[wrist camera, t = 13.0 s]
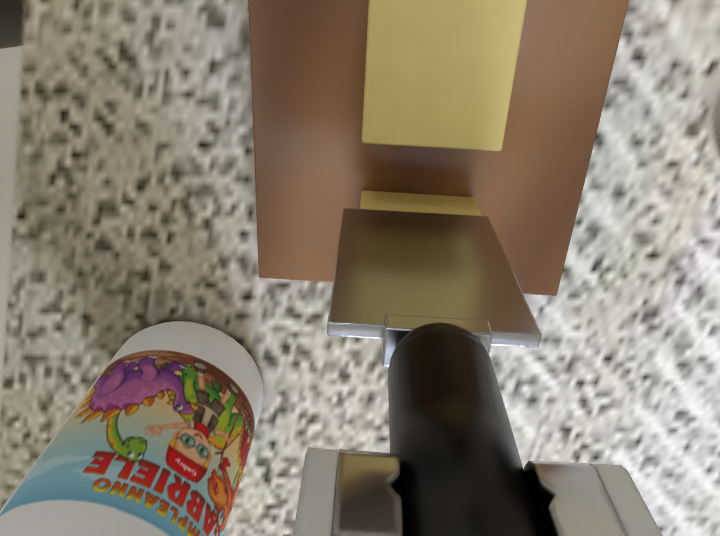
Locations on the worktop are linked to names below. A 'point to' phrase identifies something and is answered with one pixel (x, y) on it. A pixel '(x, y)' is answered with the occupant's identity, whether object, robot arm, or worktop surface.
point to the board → (412, 163)
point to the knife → (440, 362)
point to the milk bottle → (148, 443)
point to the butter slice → (419, 203)
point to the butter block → (440, 72)
